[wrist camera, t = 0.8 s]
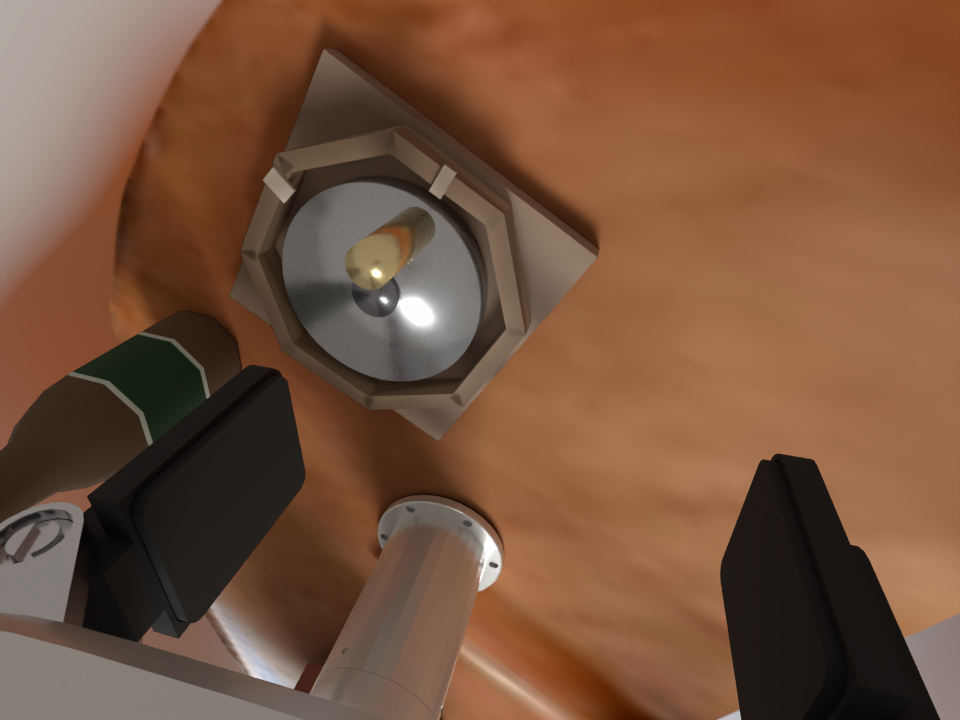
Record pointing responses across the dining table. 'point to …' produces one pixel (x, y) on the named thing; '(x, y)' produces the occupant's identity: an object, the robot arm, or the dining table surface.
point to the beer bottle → (114, 409)
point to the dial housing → (446, 174)
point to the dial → (385, 278)
